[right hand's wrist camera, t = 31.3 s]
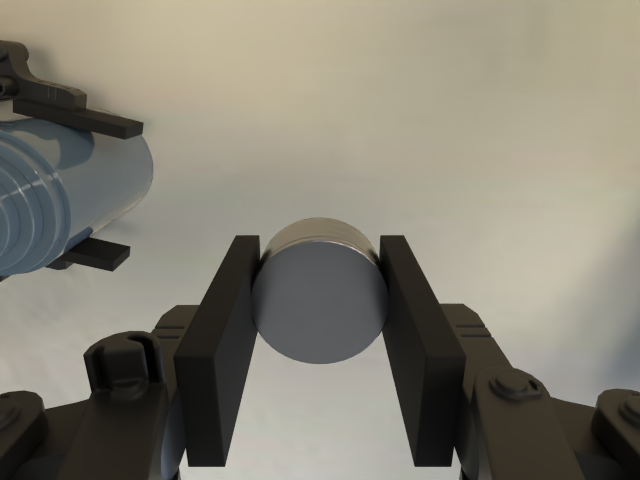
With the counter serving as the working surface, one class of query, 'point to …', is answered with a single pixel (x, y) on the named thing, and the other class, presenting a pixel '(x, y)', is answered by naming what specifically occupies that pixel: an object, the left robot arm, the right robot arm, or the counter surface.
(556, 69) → the counter surface
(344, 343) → the cap
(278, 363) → the counter surface
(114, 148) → the bottle
